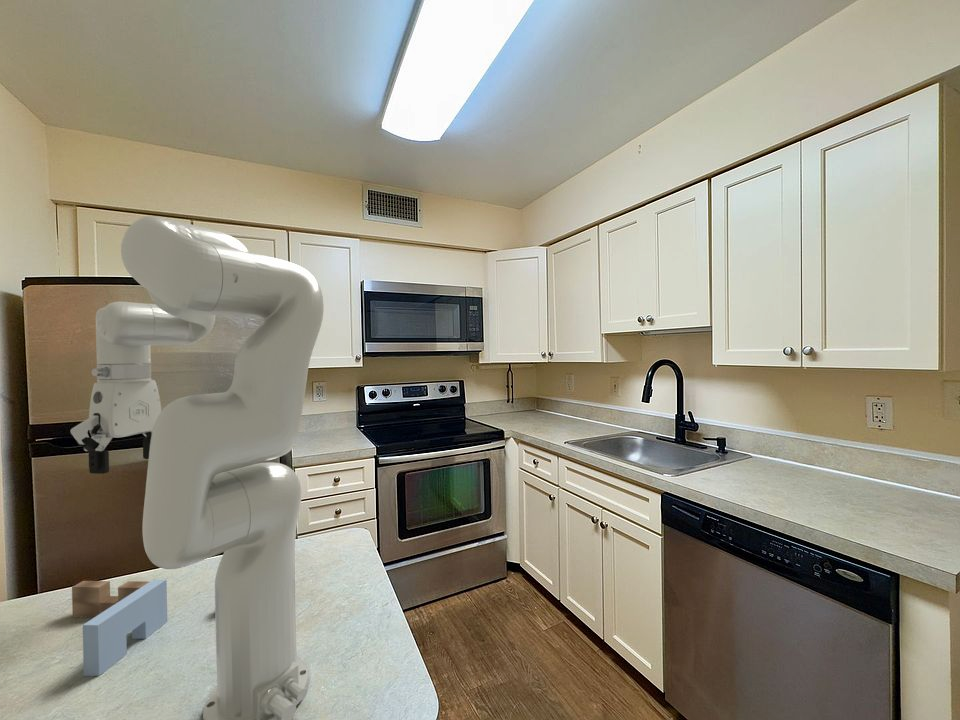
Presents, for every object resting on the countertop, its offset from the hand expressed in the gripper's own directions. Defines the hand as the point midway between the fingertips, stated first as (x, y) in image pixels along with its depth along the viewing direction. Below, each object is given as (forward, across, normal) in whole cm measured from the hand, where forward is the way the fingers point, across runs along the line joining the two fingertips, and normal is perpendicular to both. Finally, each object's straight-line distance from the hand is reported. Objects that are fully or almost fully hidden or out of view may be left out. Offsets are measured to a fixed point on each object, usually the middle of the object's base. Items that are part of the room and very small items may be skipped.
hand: (127, 465), depth 74 cm
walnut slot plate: (+27, -2, +1) cm, 27 cm away
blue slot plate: (+27, -9, -10) cm, 30 cm away
